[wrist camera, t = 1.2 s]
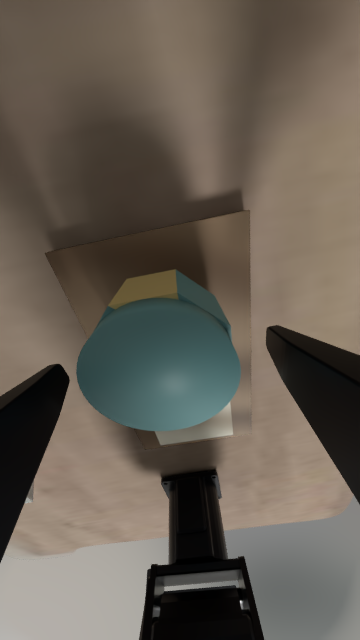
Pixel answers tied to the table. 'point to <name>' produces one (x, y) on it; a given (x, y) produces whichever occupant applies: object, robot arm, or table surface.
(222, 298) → the board
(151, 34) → the table surface
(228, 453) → the table surface
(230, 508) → the table surface
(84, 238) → the table surface
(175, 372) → the cap
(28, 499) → the figurine
